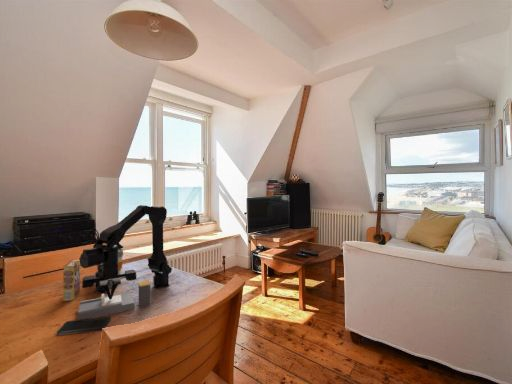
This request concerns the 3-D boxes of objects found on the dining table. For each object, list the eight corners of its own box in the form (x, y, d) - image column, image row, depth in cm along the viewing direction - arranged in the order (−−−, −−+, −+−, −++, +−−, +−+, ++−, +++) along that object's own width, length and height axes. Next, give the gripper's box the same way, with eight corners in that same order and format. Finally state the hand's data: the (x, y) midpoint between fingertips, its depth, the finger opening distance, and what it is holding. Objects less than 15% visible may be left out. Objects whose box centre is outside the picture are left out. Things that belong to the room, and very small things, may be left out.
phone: (105, 327, 89) (55, 333, 85) (105, 330, 89) (55, 336, 85) (112, 316, 97) (66, 320, 93) (112, 319, 97) (66, 323, 93)
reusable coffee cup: (91, 280, 132) (90, 251, 132) (115, 273, 143) (115, 246, 142) (104, 285, 126) (103, 255, 125) (128, 277, 136) (128, 250, 136)
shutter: (120, 296, 109) (120, 290, 109) (121, 302, 103) (121, 296, 103) (101, 299, 106) (101, 293, 105) (101, 307, 99) (101, 300, 99)
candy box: (74, 300, 110) (74, 265, 110) (62, 301, 109) (62, 266, 108) (80, 291, 119) (80, 259, 118) (69, 293, 117) (69, 260, 117)
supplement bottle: (103, 293, 117) (103, 268, 116) (91, 292, 118) (90, 266, 118) (115, 287, 124) (114, 263, 123) (102, 286, 125) (102, 262, 124)
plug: (148, 300, 111) (148, 280, 110) (150, 304, 107) (150, 283, 107) (138, 303, 109) (138, 282, 108) (139, 307, 105) (139, 285, 105)
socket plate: (132, 297, 113) (132, 291, 113) (134, 308, 104) (134, 301, 104) (80, 308, 103) (80, 300, 103) (77, 321, 94) (77, 313, 94)
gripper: (133, 253, 115) (133, 287, 116) (83, 259, 106) (84, 296, 106) (136, 259, 106) (136, 296, 106) (81, 266, 96) (82, 307, 96)
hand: (110, 298), depth 104 cm, fingers closed
